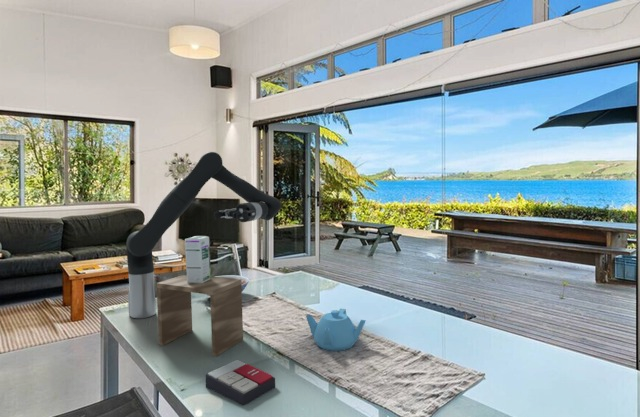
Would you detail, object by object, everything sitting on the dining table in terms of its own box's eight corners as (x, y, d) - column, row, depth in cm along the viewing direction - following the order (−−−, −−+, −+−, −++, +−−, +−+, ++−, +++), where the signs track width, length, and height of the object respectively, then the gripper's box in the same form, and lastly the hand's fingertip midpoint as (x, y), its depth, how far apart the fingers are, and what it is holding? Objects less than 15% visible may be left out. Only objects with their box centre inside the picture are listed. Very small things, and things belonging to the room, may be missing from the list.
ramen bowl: (262, 294, 192) (261, 277, 191) (225, 308, 173) (225, 289, 172) (222, 287, 205) (222, 271, 205) (185, 299, 186) (184, 281, 185)
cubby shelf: (159, 345, 136) (156, 283, 135) (189, 330, 149) (186, 273, 147) (216, 356, 127) (214, 290, 125) (243, 339, 139) (241, 279, 138)
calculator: (243, 392, 99) (204, 371, 108) (243, 409, 100) (204, 387, 109) (276, 375, 108) (237, 356, 117) (275, 390, 108) (237, 371, 118)
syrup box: (202, 283, 133) (201, 238, 132) (186, 282, 134) (184, 238, 133) (211, 279, 138) (210, 235, 137) (195, 278, 140) (193, 235, 139)
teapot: (368, 347, 132) (368, 314, 131) (326, 357, 125) (325, 322, 125) (344, 331, 146) (344, 301, 145) (305, 339, 139) (304, 308, 138)
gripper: (233, 202, 171) (207, 205, 156) (263, 202, 165) (239, 205, 150) (234, 220, 171) (208, 225, 157) (264, 221, 166) (240, 226, 151)
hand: (223, 215), depth 154 cm, fingers open, 8 cm apart
